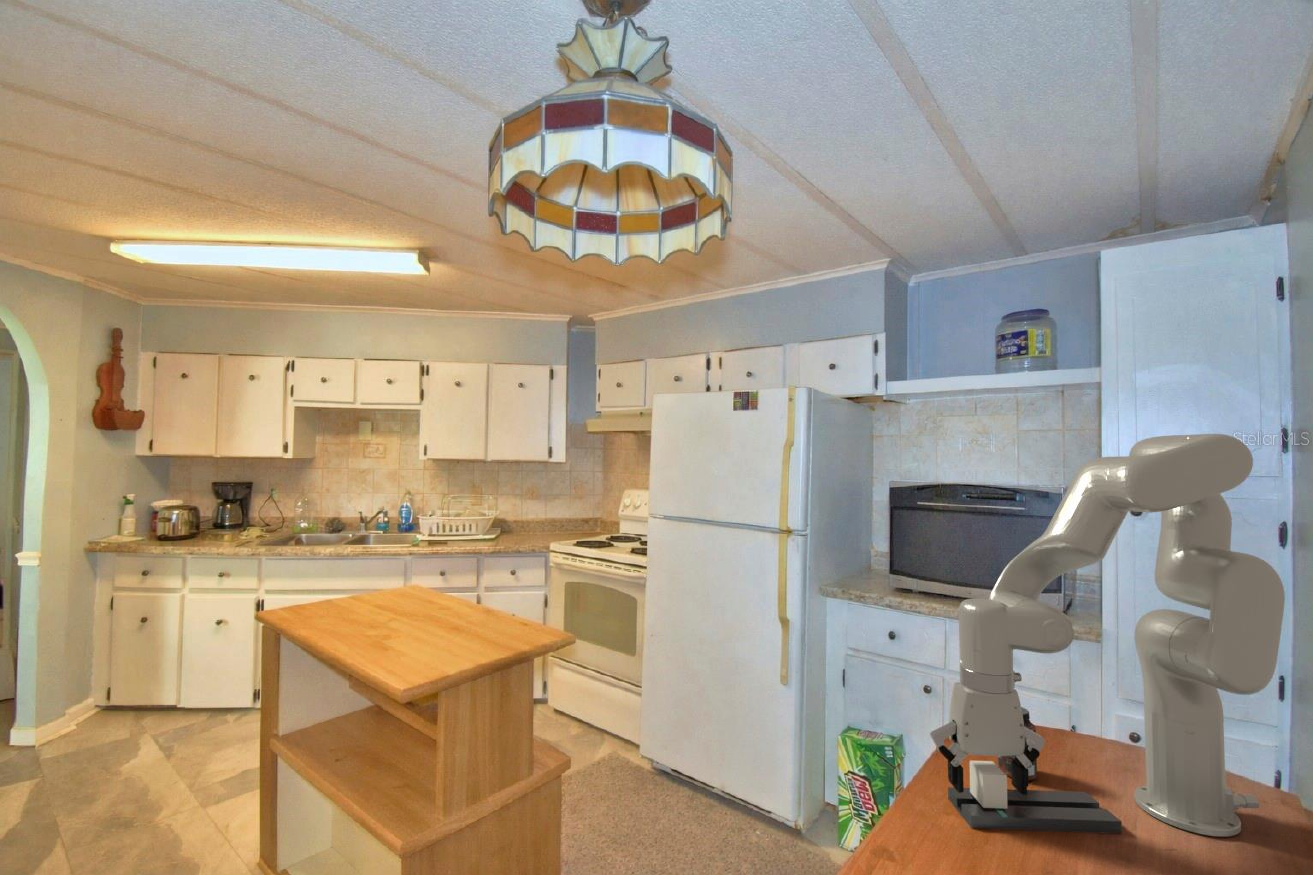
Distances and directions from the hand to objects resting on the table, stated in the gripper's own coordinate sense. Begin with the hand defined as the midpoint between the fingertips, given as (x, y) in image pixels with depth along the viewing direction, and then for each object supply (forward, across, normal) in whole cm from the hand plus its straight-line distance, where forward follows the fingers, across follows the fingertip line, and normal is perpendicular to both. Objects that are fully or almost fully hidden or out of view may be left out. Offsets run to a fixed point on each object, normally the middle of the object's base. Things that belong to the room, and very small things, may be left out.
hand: (987, 789), depth 94 cm
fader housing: (+4, -6, 0) cm, 8 cm away
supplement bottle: (+4, -12, -13) cm, 18 cm away
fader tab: (+3, 0, 0) cm, 3 cm away
